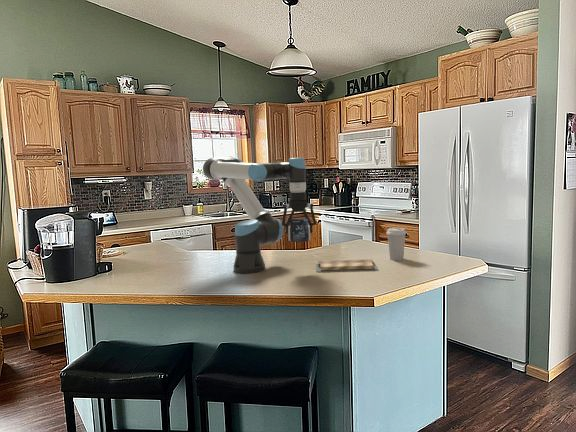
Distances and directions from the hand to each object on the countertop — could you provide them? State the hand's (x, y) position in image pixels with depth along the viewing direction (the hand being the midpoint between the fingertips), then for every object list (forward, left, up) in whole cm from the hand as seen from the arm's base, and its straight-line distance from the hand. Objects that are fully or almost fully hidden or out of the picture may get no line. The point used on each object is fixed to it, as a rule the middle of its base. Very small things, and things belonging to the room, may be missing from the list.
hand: (299, 240), depth 204 cm
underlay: (+21, +2, -14) cm, 25 cm away
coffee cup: (+47, +16, -14) cm, 52 cm away
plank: (+21, -1, -14) cm, 25 cm away
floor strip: (+21, +6, -14) cm, 26 cm away
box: (0, 0, -1) cm, 1 cm away
